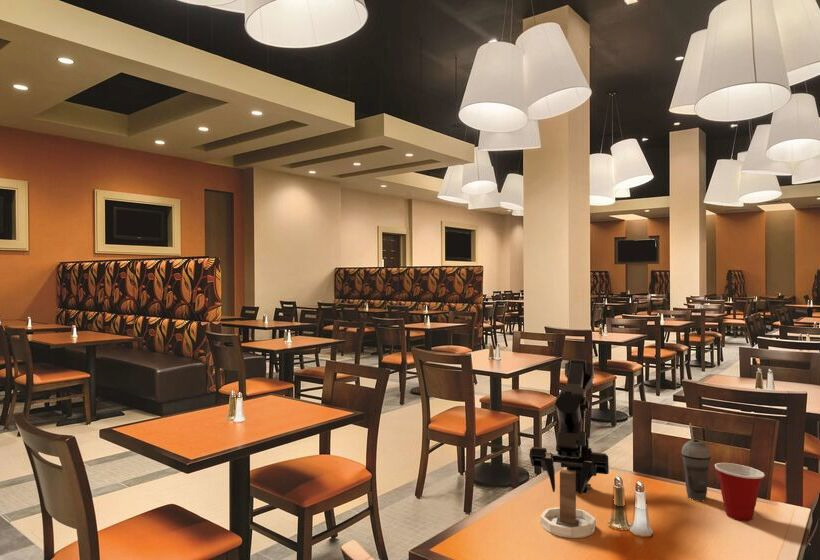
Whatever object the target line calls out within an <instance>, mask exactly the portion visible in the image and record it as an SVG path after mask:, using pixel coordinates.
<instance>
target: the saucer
mask: <svg viewBox="0 0 820 560" xmlns="http://www.w3.org/2000/svg"><path fill="white" fill-rule="evenodd" d="M558 515H560V506H557V507H550V508H546V509H545V510H544V511H543V512H542V514H541V515H540V524H541V526H542V528H543V529H544V530H545V531H546V532H547V533H549V534H552V535H555V536H557V537H559V538H560V537H561V538H566V539H567V538H568V539H583V538H588V537H590V536H592V535H593V534H594V533H595V531H596V517H594V516H593V515H592V514H590V513H589V512H588V511H586V510H583V509H579V508H576V517H577V518H580V522H579V526H578V527H572V528H571V527H567V526H562V525H557V524H556V521H557V518H558Z"/></svg>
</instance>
